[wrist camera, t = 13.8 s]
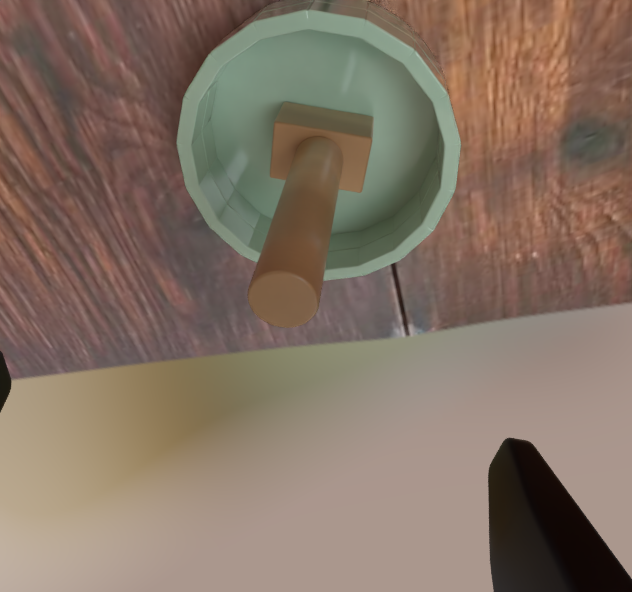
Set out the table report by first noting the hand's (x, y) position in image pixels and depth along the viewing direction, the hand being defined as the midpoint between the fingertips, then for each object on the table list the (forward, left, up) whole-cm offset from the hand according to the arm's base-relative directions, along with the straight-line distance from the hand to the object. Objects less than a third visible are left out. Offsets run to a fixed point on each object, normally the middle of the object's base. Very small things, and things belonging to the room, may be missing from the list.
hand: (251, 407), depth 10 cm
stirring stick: (0, 0, -12) cm, 13 cm away
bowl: (0, 0, -13) cm, 13 cm away
